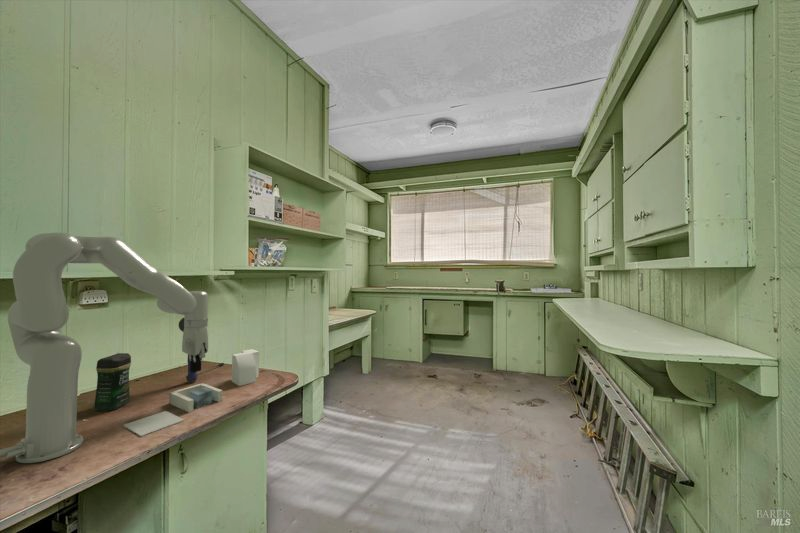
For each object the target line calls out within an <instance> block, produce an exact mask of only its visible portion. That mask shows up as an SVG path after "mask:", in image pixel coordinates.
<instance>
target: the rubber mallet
mask: <svg viewBox="0 0 800 533" xmlns="http://www.w3.org/2000/svg"><path fill="white" fill-rule="evenodd" d="M178 329H179V330H180V331H181V332H184V317H182V318H181V319H180V320H179V322H178ZM186 361H187V375H186V376H187V378H186V381H187V382H188V383H190V384H191V383H195V382H197V379H198V376H197V372H198V371H197V372H194V373H193V372H190V362H191V361H190V359H189V355H188V354H187V360H186Z"/></svg>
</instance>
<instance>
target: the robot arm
mask: <svg viewBox="0 0 800 533" xmlns="http://www.w3.org/2000/svg"><path fill="white" fill-rule="evenodd" d="M24 248H25V251H24V252H23V253H21V255H20V256H19V258H18V259H17V260H16V262H15V263H14V267H13V270H12V282H13V287H14V288H13V289H14V294H15V298H16V301H14V302H13V303H12V304H11V305H10V307H9V309H8V311H7V323H8V327H9V332H10V335H11V338H12V343H13V345H14V350H15V353H16V355H17V357H18V359H19V360H20V361H22V362H23V363H24V364H26V365H28V366H30V367H29V368H30V369H29V374H28V375H29V376H28V379H27V385H26V408H25V409H26V413H25V437H23V438H21V439H20V440H21V441H20V442H18V443H16V444H15V445H13V446H9V447H5V448H2V449H0V459H1V458H5V457H6V459H10V458H13V457H15V461H16V462H18V463H21V464H33V463H41V462H45V461H46V462H47V461H49V460H53V459H56V458H58V457H63V456H65V455H67V454H69V453H71V452H73V451H75V450H76V449H78V448H79V447H81V446H82V445H83V443H84V437H83V435H81V434H78V433H77V418H78V416H77V415H78V412H77V411H78V388H79V387H78V386H79V385H78V384H79V382H78V380H79V372H80V367H81V361H82V356H83V350H82V347H81V345H80V344H79V342H78V341H77V340H76V339H75V338H72V337H70V336H67V335H64V334H63V333H62V329H61V328H63V327H65V325H66V324H67V323H68V321H69V318H70V313H69V308H68V305H67V300H66V296H65V292H64V289H63V288H64V287H63V282H62V275H63V271H64V269H65V268H66V266H68V264H100V265H102V266H104V267H106V269H108V270H109V271H111V272H112V273H113V274H114V275H116V276H117V277H119V278H120V279H121V280H122V281H123V282H125V283H126V284H127V285H129V286H131V287H132V288H135V289H136V290H138V291H141V292H145V293H147V294H149V295H152V296H153V297H156V298H157V301H156V306H157V308H159V310H160V311H162V312H164V313H167V314H168V313H169V314H175V315H182V316H183V318H184V332H183V333H182V342H181V351H182V352H183V353H185V354H187V356H188V355H189V359H190V361H191V362H190V372H193V373H194V372H202V371H201V370H202V360H203V358H206V354H207V353H208V352H209V333H208V325H209V324H208V322H209V319H208V317H209V316H208V314H209V311H208V305H209V298H208V297H209V295H208V292H206V291H205V290H204V291H203V290H191V291H189V290H188V289H186V288H185V287H184V286H183V285H182V284H180V283H179V282H177V281H176V280H175V279H173V278H171V277H170V276H168V275H166V274H165V273H164V272H162V271H161V270H159V269H157V268H156V267H155V266H153V265H151V263H149V262H148V261H147V260H146V259H144V258H143V257H142V256H141V255H139V253H137V252H136V251H135V250H134V249H133V248H132V247H130V246H129V245H128V244H127V243H126V242H125V241H123V240H122V239H119V238H117V237H115V236H82V235H81V236H79V235H78V236H77V235H73V234H70V233H66V232H46V233H45V232H44V233H38V234H36V235H33V236H32V237H30V238H29V239H28V240H27V241H26V243H25V247H24Z"/></svg>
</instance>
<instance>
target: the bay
mask: <svg viewBox="0 0 800 533" xmlns="http://www.w3.org/2000/svg"><path fill="white" fill-rule="evenodd" d="M201 388H207V389H209V390H212V401H215V402H217V403H220V402H222V401H223V389H220V388H218V387H215V386H212V385H210V384H206V383H203V382H202V383H198V384H194V385H191V386H188V387H184V388H181V389H177V390H174V391H171V392H169V397H168V398H169V399H168V404H169V403H170V404H169V405H171V406H174V407H176V408H178V409H180V410H182V411H184V410H185V412H187V413H192V412H194V407H193V404H194V400H193V399H191V398H190V393H191V391H195V390H198V389H201ZM191 411H192V412H191Z"/></svg>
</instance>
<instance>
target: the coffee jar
mask: <svg viewBox="0 0 800 533" xmlns="http://www.w3.org/2000/svg"><path fill="white" fill-rule="evenodd" d="M131 365H132V356H131V354H130V353H126V352H125V353H123V352H117V353H115V354H111V355H110V356H106V357H102V358H100V359H98V360H97V361H96V367H95V368H96V369H95V370H96V372H97V374H96V375H97V378H96V379H97V382H96V389H95V390H96V391H95V398H94V404H93V405H94V406H93V409H94V410H96V411H99V412H106V411H112V410H113V411H114V410H117V409H118V408H120V407H123V406H124V405H126V404H127V403H129V402H130V399H131V398H130V397H131V395H130V393H131V392H130V369H131Z"/></svg>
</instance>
